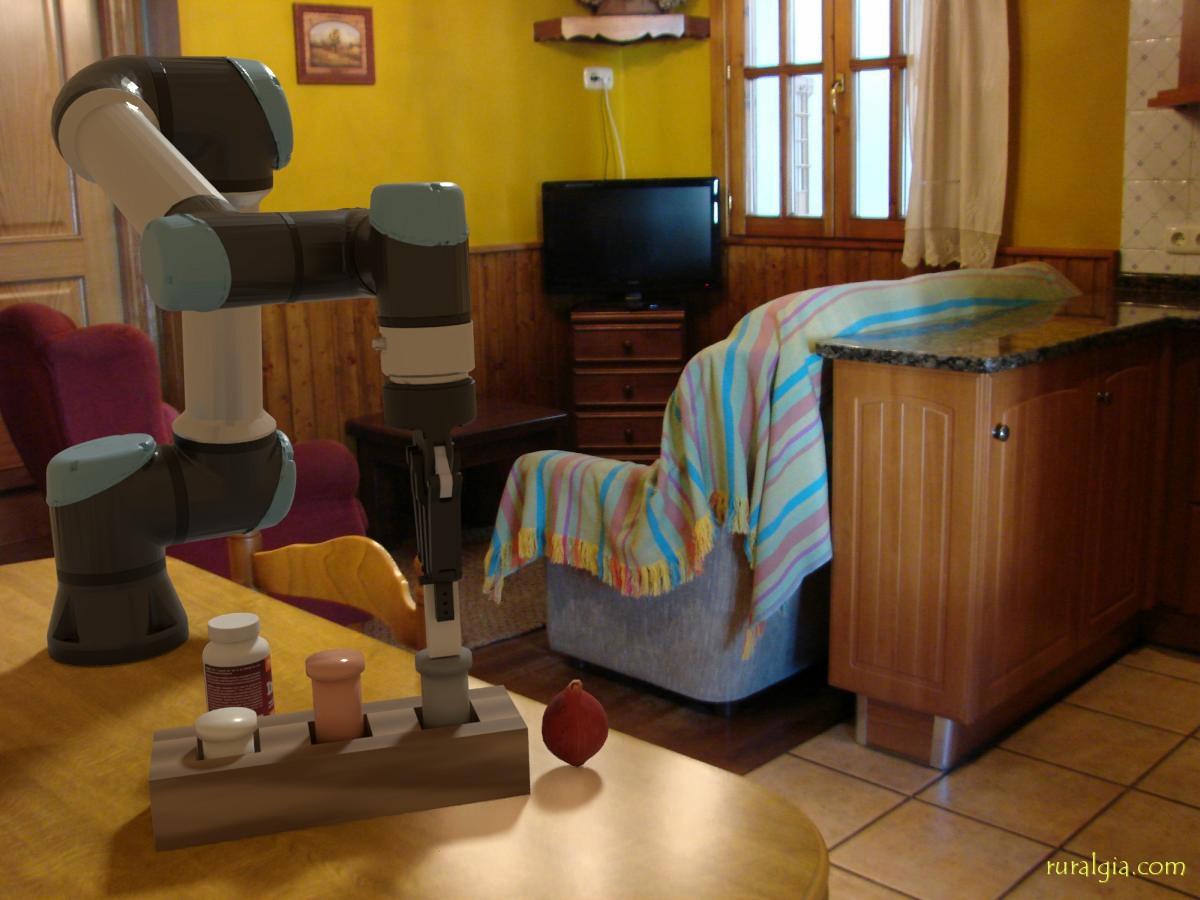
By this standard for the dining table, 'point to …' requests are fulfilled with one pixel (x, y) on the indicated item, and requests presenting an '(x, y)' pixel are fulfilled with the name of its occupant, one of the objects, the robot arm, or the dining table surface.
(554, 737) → the onion
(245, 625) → the pill bottle
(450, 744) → the socket block
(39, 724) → the dining table surface
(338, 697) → the plug terracotta
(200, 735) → the plug white
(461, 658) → the plug blue-grey
